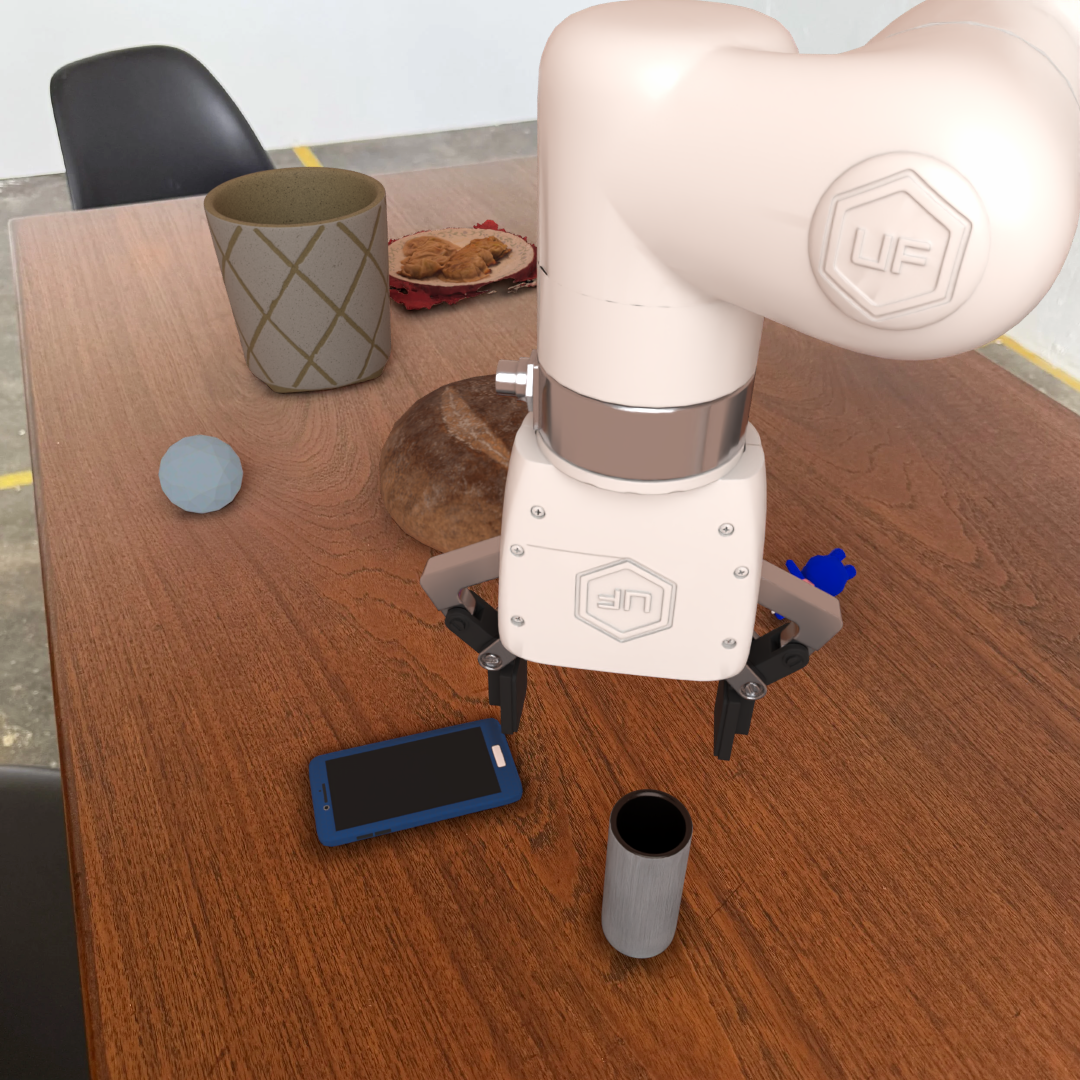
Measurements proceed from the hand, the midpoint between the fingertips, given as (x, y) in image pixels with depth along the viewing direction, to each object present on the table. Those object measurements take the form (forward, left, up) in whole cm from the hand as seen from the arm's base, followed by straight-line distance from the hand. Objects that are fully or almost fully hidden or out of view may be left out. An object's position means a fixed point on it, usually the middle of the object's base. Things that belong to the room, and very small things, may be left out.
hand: (616, 723), depth 45 cm
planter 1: (+67, -43, -21) cm, 82 cm away
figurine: (+2, -36, -21) cm, 41 cm away
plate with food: (+72, -74, -21) cm, 105 cm away
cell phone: (+17, -3, -20) cm, 27 cm away
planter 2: (-1, -3, -21) cm, 21 cm away
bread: (+32, -35, -21) cm, 52 cm away
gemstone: (+56, -17, -21) cm, 62 cm away
